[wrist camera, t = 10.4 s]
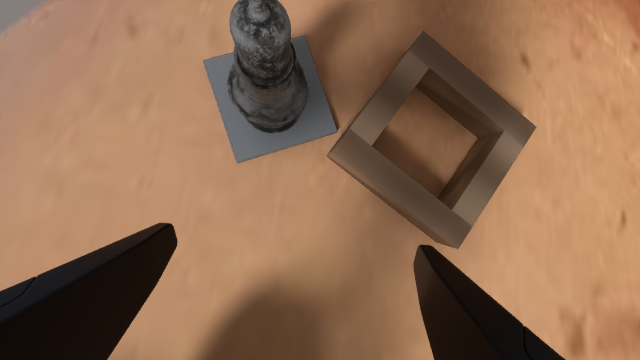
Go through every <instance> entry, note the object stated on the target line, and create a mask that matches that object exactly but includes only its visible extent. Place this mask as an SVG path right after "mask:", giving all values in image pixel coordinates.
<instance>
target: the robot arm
mask: <svg viewBox="0 0 640 360" xmlns="http://www.w3.org/2000/svg"><path fill="white" fill-rule="evenodd" d="M176 247H177V237H176V234H175V230H174V227H173V225H172V224H170V223H158V224H156V225H153V226H151V227H149V228H146V229H144V230H142V231H139V232H137V233H135V234H133V235H130V236H128V237H126V238H123V239H121V240H119V241H116V242H114V243H112V244H109V245H107V246H105V247H102V248H100V249H98V250H95V251H93V252H91V253H89V254H86V255H84V256H82V257H79V258H77V259H75V260H72V261H70V262H68V263H65V264H63V265H61V266H58V267H56V268H54V269H51V270H49V271H47V272H44V273H42V274H40V275H38V276H37V277H33V278H30V279H28V280H26V281H23V282H21V283H19V284H16V285H14V286H12V287H9V288H7V289H5V290H2V291H0V360H107V359H108V358H109V356H110V355H111V353H112V352H113V350H114V349H115V347H116V346H117V344H118V343H119V341H120V339H121V338H122V336H123V335H124V333H125V332H126V330H127V329H128V327H129V326H130V324H131V323H132V321H133V320H134V318H135V317H136V315H137V314H138V312H139V311H140V309H141V308H142V306H143V305H144V303H145V302H146V300H147V298H148V297H149V295H150V294H151V292H152V291H153V289H154V288H155V286H156V285H157V283H158V281H159V279H160V277H161V276H162V274H163V272H164V270H165V268H166V266H167V264H168V262H169V260H170V259H171V257H172V255H173V253H174V251H175V249H176ZM414 274H415V280H416V286H417V292H418V298H419V304H420V309H421V314H422V318H423V321H424V325H425V328H426V332H427V335H428V339H429V342H430V346H431V349H432V353H433V357H434V360H565V359H564V358H563V357H562V356H560V355H559V354H558V353H557V352H555V351H554V350H553V349H552V348H551V347H549V346H548V345H547V344H546V343H545V342H543V341H542V340H541V339H540V338H539V337H537V336H536V335H535V334H534V333H533V332H532V331H531V330H529V329H528V328H527V327H526V326H523V324H522V323H521V322H520V321H519V320H518V319H516V318H515V317H514V316H513V315H512V314H511V313H509V312H508V311H507V310H506V309H505V308H504V307H502V306H501V305H500V304H499V303H498V302H497V301H495V300H494V299H493V298H492V297H491V296H490V295H488V294H487V293H486V292H485V291H484V290H483V289H481V288H480V287H479V286H478V285H477V284H476V283H474V282H473V281H472V280H471V279H470V278H469V277H468V276H466V275H465V274H464V273H463V272H462V271H461V270H459V269H458V268H457V267H456V266H455V265H454V264H452V263H451V262H450V261H449V260H448V259H447V258H445V257H444V256H443V255H442V254H441V253H440V252H438V251H437V250H436V249H435V248H434V247H432V246H431V245H419V246H418V248H417V252H416V256H415V259H414Z"/></svg>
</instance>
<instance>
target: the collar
mask: <svg viewBox="0 0 640 360" xmlns="http://www.w3.org/2000/svg"><path fill="white" fill-rule="evenodd" d="M415 86H416V87H417V88H418V89H420V90H421V91H422V92H423V93H424V94H426V95H427V96H428V97H429V98H431V99H432V100H433V101H434V102H435V103H437V104H438V105H439V106H440V107H441V108H443V109H444V110H445V111H446V112H447V113H449V114H450V115H451V116H452V117H453V118H455V119H456V120H457V121H458V122H459V123H461V124H462V125H463V126H464V127H465V128H467V129H468V130H469V131H470V132H471V133H473V134H474V135H475V136H476V137H477V138H479V139H478V140H477V142H476V143H475V144H474V146H473V147H472V149H471V150H470V152H469V153H468V155H467V156H466V158H465V159H464V161H463V162H462V164H461V165H460V167H459V168H458V170H457V171H456V173H455V174H454V176H453V177H452V179H451V180H450V182H449V183H448V184H447V186H446V187H445V189H444V190H443V192H442V193H441V195H440V196H439V198H438V199H437V198H436V197H435V196H434V195H432V194H431V193H430V192H429V191H427V190H426V189H425V188H424V187H422V186H421V185H420V184H419V183H417V182H416V181H415V180H414V179H412V178H411V177H410V176H409V175H407V174H406V173H405V172H404V171H402V170H401V169H400V168H399V167H397V166H396V165H395V164H394V163H392V162H391V161H390V160H389V159H387V158H386V157H385V156H384V155H382V154H381V153H380V152H378V151H377V150H376V149H375V148H373V147H372V144H373V143H374V142H375V140H376V139H377V138H378V136H379V135H380V134H381V132H382V131H383V130H384V128H385V127H386V126H387V124H388V123H389V121H390V120H391V119H392V117H393V116H394V115H395V113H396V112H397V111H398V109H399V108H400V107H401V105H402V104H403V103H404V101H405V100H406V99H407V97H408V96H409V95H410V93H411V92H412V90H413V89H414V88H415ZM535 129H536V126H535V125H533V124H532V123H531V122H530V121H529V120H528V119H526V118H525V117H524V116H523V115H522V114H521V113H519V112H518V111H517V110H516V109H515V108H514V107H512V106H511V105H510V104H509V103H508V102H506V101H505V100H504V99H503V98H502V97H501V96H499V95H498V94H497V93H496V92H495V91H494V90H492V89H491V88H490V87H489V86H488V85H487V84H485V83H484V82H483V81H482V80H481V79H479V78H478V77H477V76H476V75H475V74H474V73H472V72H471V71H470V70H469V69H468V68H467V67H465V66H464V65H463V64H462V63H461V62H460V61H458V60H457V59H456V58H455V57H454V56H452V55H451V54H450V53H449V52H448V51H447V50H445V49H444V48H443V47H442V46H441V45H440V44H438V43H437V42H436V41H435V40H434V39H432V38H431V37H430V36H429V35H428V34H427V33H425V32H424V31H423V32H422V34H421V35H420V36H419V37H418V38H417V40H416V41H415V42H414V43H413V44H412V46H411V47H410V48H409V49H408V50H407V52H406V53H405V54H404V56H403V57H402V58H401V59H400V61H399V62H398V63H397V65H396V66H395V67H394V69H393V70H392V71H391V73H390V74H389V75H388V76H387V78H386V79H385V80H384V82H383V83H382V84H381V86H380V87H379V88H378V90H377V91H376V92H375V93H374V95H373V96H372V97H371V99H370V100H369V101H368V103H367V104H366V105H365V106H364V108H363V109H362V110H361V112H360V113H359V114H358V116H357V117H356V118H355V120H354V121H353V122H352V123H351V125H350V126H349V127H348V129H347V130H346V131H345V133H344V134H343V135H342V137H341V138H340V139H339V140H338V142H337V143H336V144H335V146H334V147H333V148H332V150H331V151H330V152H329V153H328V155H327V157H328V158H329V159H331V160H332V161H333V162H334V163H336V164H337V165H338V166H340V167H341V168H342V169H343V170H345V171H346V172H347V173H348V174H350V175H351V176H352V177H354V178H355V179H356V180H357V181H359V182H360V183H361V184H363V185H364V186H365V187H366V188H368V189H369V190H370V191H372V192H373V193H374V194H375V195H377V196H378V197H379V198H380V199H382V200H383V201H384V202H386V203H387V204H388V205H389V206H391V207H392V208H393V209H395V210H396V211H397V212H398V213H400V214H401V215H402V216H403V217H405V218H406V219H407V220H409V221H410V222H411V223H412V224H414V225H415V226H416V227H418V228H419V229H420V230H421V231H423V232H424V233H425V234H426V235H428V236H429V237H430V238H432V239H433V240H434V241H435V242H437V243H440V244H443V245H447V246H450V247H453V248H456V249H459V247H460V245H461V244H462V242H463V241H464V239H465V238H466V236H467V234H468V233H469V231H470V230H471V228H472V227H473V225H474V224H475V222H476V220H477V219H478V217H479V216H480V214H481V213H482V211H483V210H484V208H485V206H486V205H487V203H488V202H489V200H490V199H491V197H492V196H493V194H494V192H495V191H496V189H497V188H498V186H499V185H500V183H501V182H502V180H503V178H504V177H505V175H506V174H507V172H508V171H509V169H510V167H511V166H512V164H513V163H514V161H515V160H516V158H517V157H518V155H519V153H520V152H521V150H522V149H523V147H524V146H525V144H526V143H527V141H528V139H529V138H530V136H531V135H532V133H533V132H534V130H535Z"/></svg>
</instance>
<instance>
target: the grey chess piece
mask: <svg viewBox="0 0 640 360" xmlns="http://www.w3.org/2000/svg"><path fill="white" fill-rule="evenodd" d="M230 32H231V34H232V37H233V40H234V43H235V47H234V53H233V59H234V63H233V65H232V67H231V69H230V71H229V75H228V81H227V87H228V94H229V97H230V99H231V102H232V104H233V105H234V107H235V108H236V109H237V111H238V112H239V113H240V114H241V115H242V116H244V117H245V119H246V120H247V121H248V123H249V124H250V125H252V126H253V127H254V128H256V129H258V130H260V131H262V132H266V133H280V132H283V131H286V130H288V129H289V128H291V127H292V126H294V124H295V123H296V122H297V121H298V120H299V118H300V115H301V113H302V111H303V109H304V108H305V106H306V104H307V101H308V99H309V93H310V82H309V77H308V74H307V72H306V69H305V67H304V66H303V65H302V63H301V62H300V61H299V59H297V58H296V52H295V49H294V46H293V44H292V43H291V26H290V20H289V17H288V14H287V12H286V10H285V8H284V7H283V6H282V4H281V3H280V2H278V1H277V0H239V1H238V2H237V3H236V4H235V5H234V7H233V9H232V11H231V15H230Z"/></svg>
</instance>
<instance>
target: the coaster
mask: <svg viewBox="0 0 640 360" xmlns="http://www.w3.org/2000/svg"><path fill="white" fill-rule="evenodd" d="M291 43H292V44H293V46H294V49H295V52H296V58H297V59H299V61H300V62H301V63H302V65H303V66H304V67H305V69H306V72H307V74H308V77H309V82H310V93H309V99H308V101H307V104H306V106H305V108H304V109H303V111H302V113H301V115H300V118H299V120H298V121H297V122H296V123H295V124H294V126H292V127H291V128H289V129H288V130H286V131H283V132H280V133H266V132H262V131H260V130H258V129H256V128H254V127H253V126H252V125H250V124H249V123H248V121H247V120H246V119H245V117H244V116H242V115H241V114H240V113H239V112H238V111H237V109H236V108H235V107H234V105H233V104H232V102H231V99H230V97H229V94H228V87H227V81H228V75H229V71H230V69H231V67H232V65H233V63H234V59H233V53H231V54H227V55H223V56H219V57H215V58H211V59H207V60H203V62H204V65H205V68H206V71H207V74H208V77H209V80H210V83H211V86H212V89H213V93H214V96H215V99H216V102H217V105H218V108H219V111H220V114H221V117H222V120H223V123H224V126H225V129H226V132H227V135H228V138H229V141H230V144H231V147H232V150H233V153H234V156H235V159H236V162H237V163H240V162H243V161H247V160H250V159H253V158H256V157H260V156H263V155H266V154H269V153H273V152H276V151H279V150H282V149H286V148H289V147H292V146H295V145H298V144H302V143H305V142H308V141H311V140H315V139H318V138H321V137H324V136H328V135H331V134H334V133H336V132H337V129H336V126H335V123H334V120H333V117H332V114H331V111H330V108H329V105H328V102H327V99H326V97H325V94H324V91H323V88H322V85H321V82H320V79H319V76H318V73H317V70H316V67H315V64H314V61H313V58H312V55H311V52H310V49H309V46H308V44H307V41H306V38H305V36H300V37H296V38H292V39H291Z"/></svg>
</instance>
